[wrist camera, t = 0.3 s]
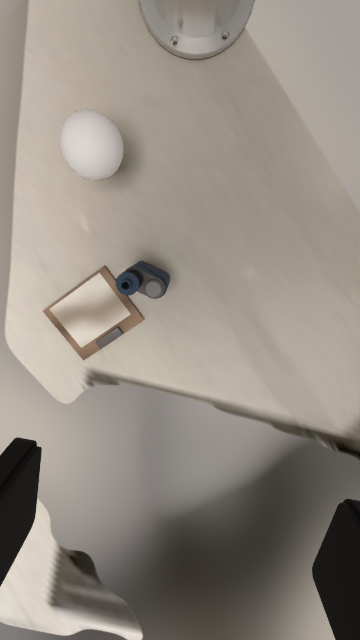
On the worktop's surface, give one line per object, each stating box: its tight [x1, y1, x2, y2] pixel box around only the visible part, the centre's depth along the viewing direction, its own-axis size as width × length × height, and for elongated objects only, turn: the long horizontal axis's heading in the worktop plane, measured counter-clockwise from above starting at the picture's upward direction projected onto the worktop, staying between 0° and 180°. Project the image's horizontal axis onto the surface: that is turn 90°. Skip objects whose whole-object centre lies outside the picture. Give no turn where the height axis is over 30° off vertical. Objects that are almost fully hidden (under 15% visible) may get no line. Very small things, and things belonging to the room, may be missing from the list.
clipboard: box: [43, 266, 144, 360], centre depth 43 cm, size 9×11×1 cm
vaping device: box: [116, 261, 170, 299], centre depth 36 cm, size 3×5×12 cm, turn 64°
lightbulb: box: [60, 109, 124, 180], centre depth 33 cm, size 6×6×11 cm
